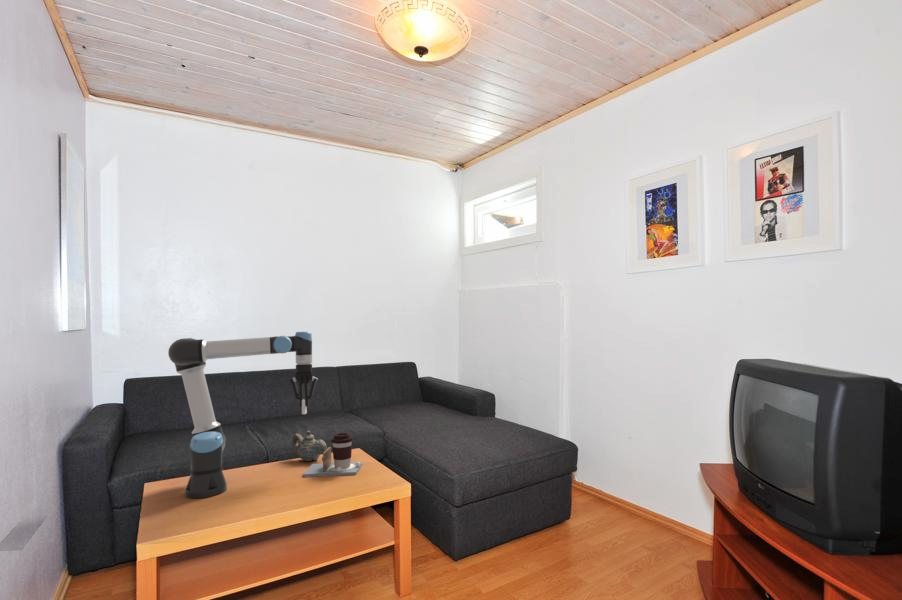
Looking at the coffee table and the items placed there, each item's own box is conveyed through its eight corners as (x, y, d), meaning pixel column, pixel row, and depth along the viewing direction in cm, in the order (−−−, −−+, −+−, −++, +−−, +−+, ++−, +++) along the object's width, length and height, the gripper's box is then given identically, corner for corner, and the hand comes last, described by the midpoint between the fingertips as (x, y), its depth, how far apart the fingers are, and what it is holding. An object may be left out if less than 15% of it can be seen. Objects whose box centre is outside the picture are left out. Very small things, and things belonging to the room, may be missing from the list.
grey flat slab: (302, 477, 207) (302, 469, 208) (312, 466, 224) (312, 459, 225) (356, 474, 208) (356, 467, 209) (362, 464, 225) (362, 457, 226)
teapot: (332, 459, 237) (332, 429, 238) (318, 465, 226) (318, 433, 227) (299, 456, 245) (299, 427, 246) (284, 461, 234) (284, 431, 236)
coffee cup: (327, 469, 214) (326, 436, 215) (340, 463, 223) (339, 431, 224) (345, 470, 210) (344, 437, 211) (357, 464, 219) (356, 432, 220)
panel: (319, 471, 210) (319, 453, 211) (325, 464, 222) (325, 447, 223) (325, 471, 210) (325, 453, 211) (331, 463, 222) (331, 446, 223)
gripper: (287, 364, 218) (288, 415, 216) (315, 363, 218) (316, 414, 216) (292, 363, 225) (292, 412, 223) (319, 362, 226) (320, 411, 224)
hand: (304, 413), depth 220 cm, fingers closed
